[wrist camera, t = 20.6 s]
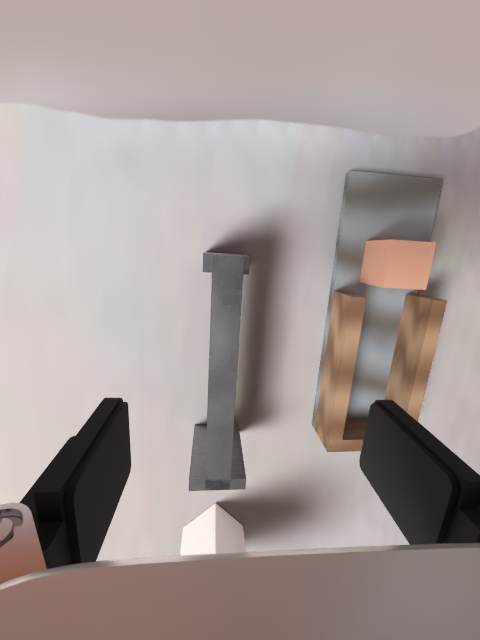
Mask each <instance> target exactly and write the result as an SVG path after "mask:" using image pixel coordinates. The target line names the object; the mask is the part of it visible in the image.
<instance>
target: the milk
mask: <svg viewBox="0 0 480 640" xmlns="http://www.w3.org/2000/svg"><path fill="white" fill-rule="evenodd" d="M237 552H246V548H245V539H244V530H243V526H242V525H241V524H240V523H239V522H238V521H236V520H235V519H234V518H233V517H232V516H231V515H229V514H228V513H227V512H226V511H225V510H223V509H222V508H221V507H220V506H219V505H217V504H216V503H215V504H213V505H212V506H211V507H209V508H208V509H207V510H205V511H204V512H203V513H202V514H200V515H199V516H198V517H196V518H195V519H194V520H192V521H191V522H190V523H189V524H187V525H186V526H185V527H184V528H183V534H182V543H181V552H180V555H199V554H218V553H237Z"/></svg>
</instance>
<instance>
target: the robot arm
mask: <svg viewBox="0 0 480 640" xmlns="http://www.w3.org/2000/svg"><path fill="white" fill-rule="evenodd" d="M360 467H361V470H362V472H363V473H364V475H365V476H366V478H367V479H368V481H369V482H370V484H371V485H372V487H373V488H374V490H375V492H376V493H377V495H378V496H379V498H380V499H381V501H382V502H383V504H384V505H385V507H386V508H387V510H388V512H389V513H390V515H391V516H392V518H393V519H394V521H395V522H396V524H397V525H398V527H399V528H400V530H401V532H402V533H403V535H404V536H405V538H406V539H407V541H408V542H409V544H410V545H393V546H367V547H344V548H321V549H299V550H277V551H256V552H237V553H218V554H199V555H179V556H162V557H148V558H134V559H120V560H106V561H97V562H96V559H97V557H98V554H99V552H100V549H101V546H102V544H103V541H104V539H105V536H106V533H107V531H108V528H109V526H110V523H111V521H112V518H113V515H114V513H115V510H116V508H117V505H118V502H119V500H120V497H121V495H122V492H123V490H124V487H125V484H126V482H127V479H128V477H129V474H130V469H131V453H130V434H129V415H128V403H127V402H123V400H122V398H104V399H103V400H102V402H101V403H100V404H99V406H98V407H97V408H96V410H95V411H94V412H93V414H92V415H91V416H90V418H89V419H88V420H87V422H86V423H85V424H84V426H83V427H82V428H81V430H80V431H79V432H78V434H77V435H76V436H73V437H71V438H70V439H69V440H68V441H67V442H66V443H65V445H64V446H63V447H62V449H61V450H60V451H59V453H58V454H57V455H56V456H55V458H54V459H53V460H52V462H51V463H50V464H49V465H48V467H47V468H46V469H45V471H44V472H43V473H42V474H41V476H40V477H39V478H38V480H37V481H36V482H35V483H34V485H33V486H32V487H31V489H30V490H29V491H28V493H27V494H26V495H25V496H24V498H23V499H22V500H21V502H20V503H9V504H3V505H0V640H480V475H479V474H477V473H476V472H475V471H474V470H473V469H472V468H470V467H469V466H468V465H467V464H466V463H465V462H464V461H462V460H461V459H460V458H459V457H458V456H457V455H455V454H454V453H453V452H452V451H451V450H450V449H449V448H447V447H446V446H445V445H444V444H443V443H442V442H440V441H439V440H438V439H437V438H436V437H435V436H434V435H432V434H431V433H430V432H429V431H428V430H427V429H425V428H424V427H423V426H422V425H421V424H420V423H419V422H417V421H416V420H415V419H414V418H413V417H412V416H410V415H409V414H408V413H407V412H406V411H405V410H404V409H402V408H401V407H400V406H399V405H398V404H397V403H395V402H394V401H393V400H375V402H374V403H373V404H371V406H370V409H369V415H368V420H367V425H366V430H365V435H364V440H363V445H362V450H361V455H360Z"/></svg>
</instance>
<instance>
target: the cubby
mask: <svg viewBox="0 0 480 640" xmlns="http://www.w3.org/2000/svg"><path fill="white" fill-rule="evenodd" d="M442 183H443V179H438V178H427V177H416V176H405V175H394V174H383V173H372V172H361V171H349V172H348V173H346V179H345V186H344V193H343V201H342V208H341V215H340V223H339V230H338V237H337V244H336V252H335V259H334V266H333V274H332V281H331V288H330V296H329V303H328V310H327V317H326V325H325V332H324V339H323V347H322V354H321V361H320V369H319V376H318V383H317V390H316V398H315V405H314V412H313V420H312V425H313V427H314V429H315V431H316V432H317V434H318V436H319V438H320V440H321V441H322V443H323V445H324V447H325V448H326V450H327V452H344V451H361V450H362V445H363V440H364V435H365V430H366V425H367V420H368V415H369V409H370V406H371V404H373V403H374V402H375V400H393V401H394V402H395V403H397V404H398V405H399V406H400V407H401V408H402V409H404V410H405V411H406V412H407V413H408V414H409V415H410V416H412V417H413V418H414V419H415V420H416V421H417V422H418V418H419V414H420V410H421V406H422V401H423V397H424V393H425V389H426V385H427V381H428V377H429V373H430V369H431V365H432V361H433V357H434V353H435V348H436V344H437V340H438V336H439V332H440V328H441V324H442V320H443V316H444V312H445V308H446V304H447V301H446V300H441V299H437V298H432V297H428V296H423V295H419V294H418V293H419V290H418V289H397V288H382V287H378V286H373V285H369V284H364V283H360V282H359V281H360V275H361V269H362V263H363V257H364V251H365V245H366V241H372V240H391V239H393V240H408V241H422V242H430V238H431V233H432V229H433V224H434V220H435V215H436V210H437V206H438V201H439V197H440V192H441V187H442Z"/></svg>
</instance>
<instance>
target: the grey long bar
mask: <svg viewBox="0 0 480 640" xmlns="http://www.w3.org/2000/svg"><path fill="white" fill-rule="evenodd" d="M249 260H250V256H249V255H243V254H228V253H211V252H204V253H203V272H212V292H211V321H210V350H209V380H208V409H207V425H195V428H194V437H193V447H192V457H191V466H190V476H189V491H201V490H232V489H245V485H246V475H245V468H244V461H243V454H242V447H241V440H240V433H239V426H238V425H234V413H235V397H236V381H237V364H238V348H239V332H240V316H241V300H242V283H243V274H249Z"/></svg>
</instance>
